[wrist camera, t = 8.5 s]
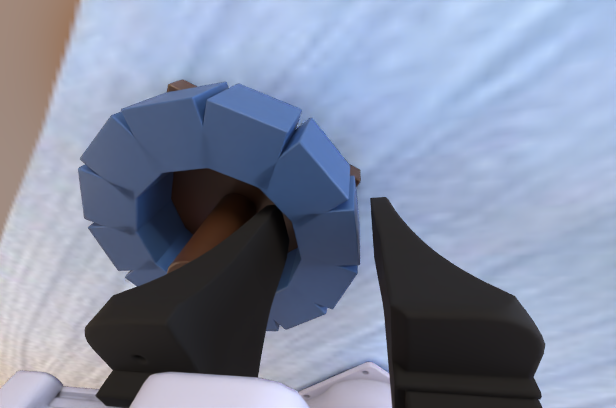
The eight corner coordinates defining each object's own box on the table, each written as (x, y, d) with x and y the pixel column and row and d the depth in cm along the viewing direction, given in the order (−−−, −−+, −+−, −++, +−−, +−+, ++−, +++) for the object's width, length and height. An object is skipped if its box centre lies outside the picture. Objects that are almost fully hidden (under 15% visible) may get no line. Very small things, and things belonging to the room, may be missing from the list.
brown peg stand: (288, 279, 18) (262, 375, 13) (155, 221, 17) (73, 301, 12) (361, 169, 14) (363, 254, 9) (182, 78, 12) (65, 115, 8)
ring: (183, 290, 19) (158, 328, 16) (78, 108, 13) (15, 126, 10) (366, 289, 16) (367, 334, 14) (343, 60, 10) (339, 71, 8)
